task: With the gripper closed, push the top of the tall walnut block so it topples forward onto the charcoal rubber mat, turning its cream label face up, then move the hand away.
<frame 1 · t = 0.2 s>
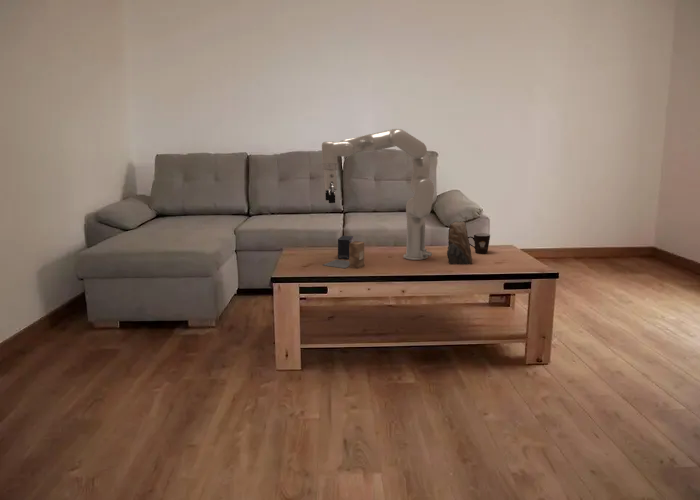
hand: (330, 201, 292), 31 cm above the table, tool pointing down, fingers open, 9 cm apart
coffee mug: (478, 252, 317), on the table
walnut block: (356, 266, 289), on the table
brown grey rock: (459, 262, 295), on the table
mat: (340, 264, 294), on the table
small box: (345, 257, 310), on the table
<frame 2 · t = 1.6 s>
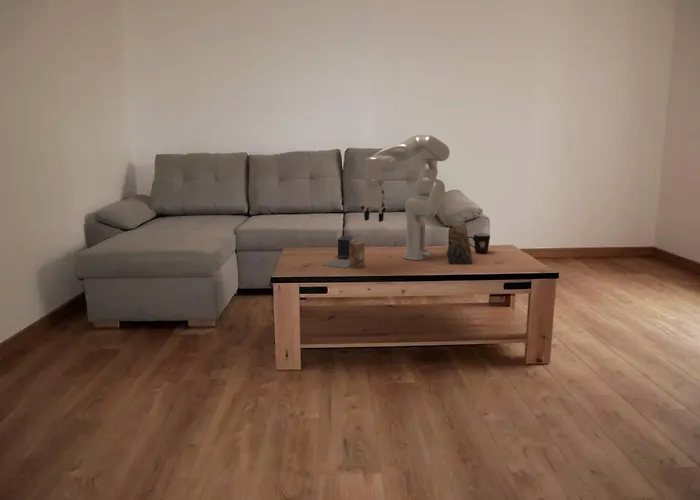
hand: (373, 220, 279), 24 cm above the table, tool pointing down, fingers open, 6 cm apart
nothing on the table moved.
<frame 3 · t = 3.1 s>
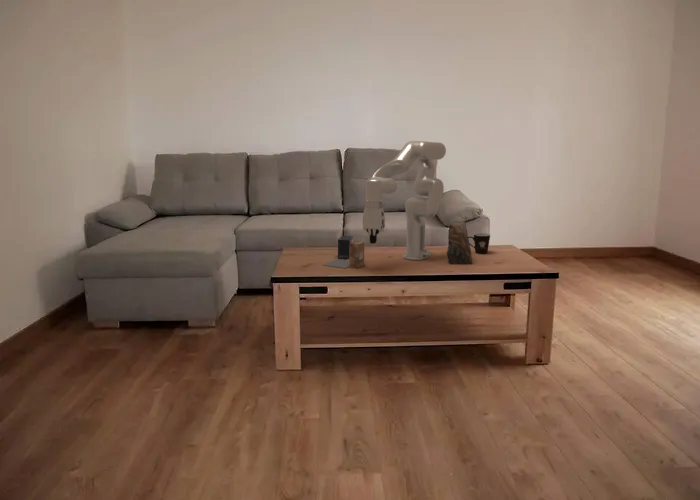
hand: (373, 243, 281), 13 cm above the table, tool pointing down, fingers closed
nothing on the table moved.
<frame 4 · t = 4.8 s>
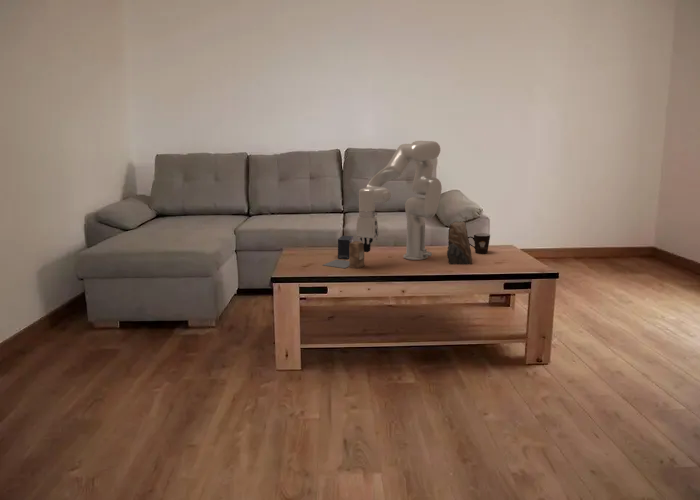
hand: (366, 251, 284), 8 cm above the table, tool pointing down, fingers closed
nothing on the table moved.
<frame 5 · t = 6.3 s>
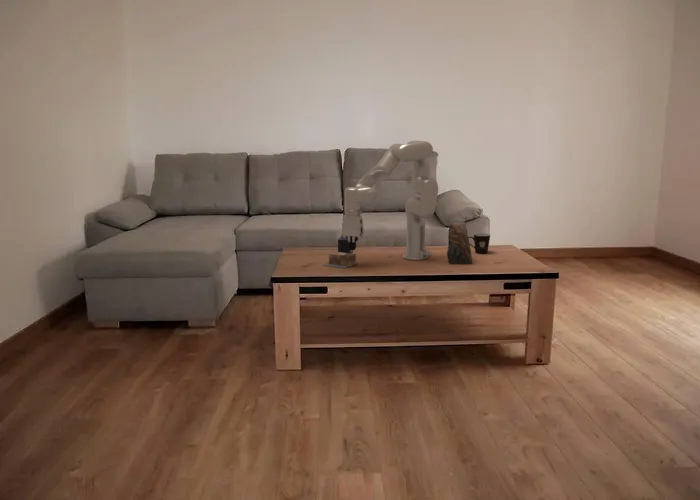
hand: (352, 249, 289), 8 cm above the table, tool pointing down, fingers closed
walnut block: (352, 260, 290), point 3 cm above the table, tilted 90°, touching mat
everything else where it was.
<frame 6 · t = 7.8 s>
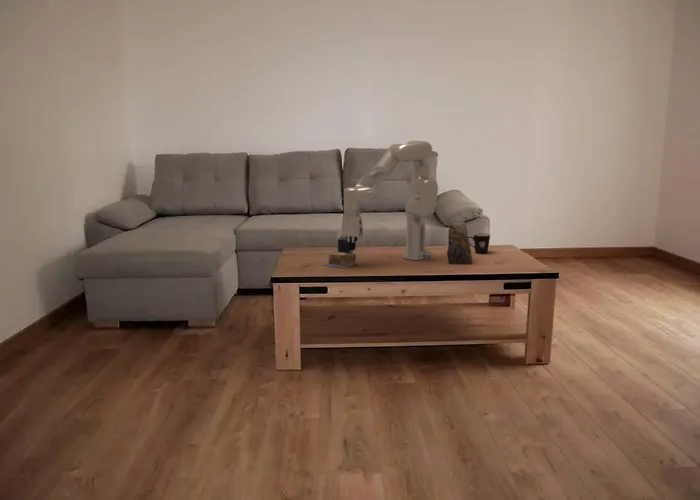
hand: (352, 249, 289), 8 cm above the table, tool pointing down, fingers closed
nothing on the table moved.
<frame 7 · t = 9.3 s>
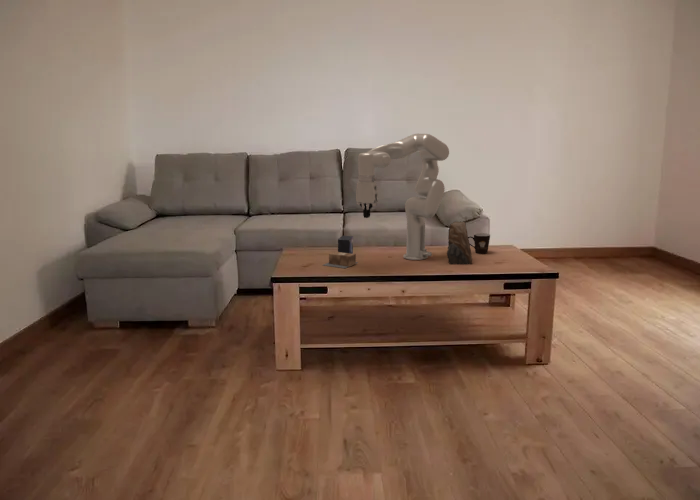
hand: (366, 217, 281), 25 cm above the table, tool pointing down, fingers closed
nothing on the table moved.
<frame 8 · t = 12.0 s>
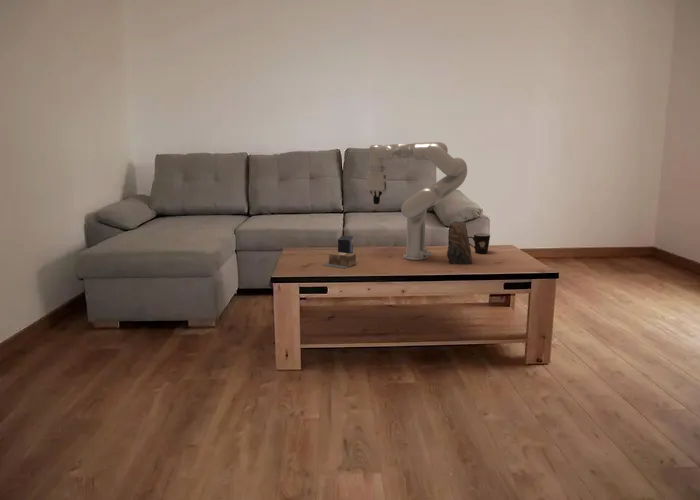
hand: (376, 203, 310), 27 cm above the table, tool pointing down, fingers closed
nothing on the table moved.
at the end: walnut block tilted 90°; walnut block inside the target area on the mat (6.1 cm from its centre), point 2.8 cm above the mat's base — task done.
